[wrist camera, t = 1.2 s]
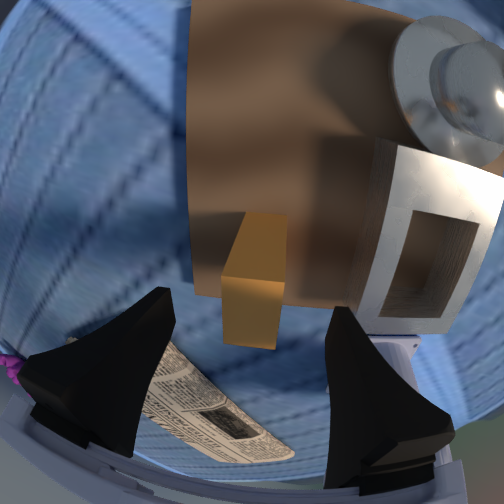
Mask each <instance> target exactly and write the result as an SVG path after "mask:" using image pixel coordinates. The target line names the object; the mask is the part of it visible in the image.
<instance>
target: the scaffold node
mask: <svg viewBox="0 0 504 504" xmlns="http://www.w3.org/2000/svg"><path fill="white" fill-rule="evenodd" d="M388 78H389V85H390V90H391V94H392V98H393V101H394V104H395V107H396V109H397V111H398V113H399V116H400V118H401V120H402V121H403V123H404V125H405V127H406V128H407V130H408V131H409V132H410V134H411V135H412V136H413V138H414V139H415V140H416V141H417V142H418V143H419V144H420V145H421V146H422V147H423V148H421V147H417V146H413V145H409V144H405V143H401V142H397V141H392V140H388V139H383V138H379V137H376V141H375V149H374V156H373V163H372V170H371V176H370V182H369V188H368V193H367V199H366V204H365V209H364V214H363V219H362V224H361V228H360V233H359V237H358V242H357V246H356V250H355V254H354V259H353V263H352V266H351V270H350V274H349V278H348V282H347V285H346V289H345V292H344V296H343V304H344V306H345V307H349V308H350V310H351V311H352V313H353V314H354V316H355V317H356V319H357V320H358V322H359V324H360V325H361V327H362V328H363V330H364V331H365V333H366V334H447V332H448V330H449V329H450V327H451V325H452V323H453V322H454V320H455V318H456V316H457V314H458V312H459V311H460V309H461V307H462V305H463V303H464V301H465V299H466V297H467V295H468V293H469V291H470V289H471V287H472V284H473V282H474V280H475V278H476V276H477V273H478V271H479V269H480V266H481V264H482V261H483V259H484V256H485V254H486V251H487V248H488V246H489V243H490V240H491V237H492V234H493V232H494V228H495V225H496V222H497V219H498V216H499V212H500V209H501V205H502V201H503V197H504V178H502V177H500V176H498V175H496V174H494V173H492V172H490V171H488V170H486V169H484V168H482V166H485V165H487V164H489V163H491V162H492V161H494V160H495V159H496V158H497V157H498V156H499V155H500V154H501V153H502V151H503V150H504V50H503V49H502V48H500V47H499V46H498V45H496V44H494V43H492V42H489V41H486V40H485V39H484V38H483V37H482V36H481V35H479V34H478V33H477V32H476V31H475V30H473V29H472V28H471V27H469V26H467V25H466V24H464V23H462V22H460V21H458V20H455V19H452V18H449V17H444V16H428V17H424V18H421V19H419V20H417V21H415V22H413V23H412V24H410V25H408V26H407V27H406V28H404V29H403V30H402V31H401V32H400V33H399V34H398V36H397V38H396V39H395V41H394V43H393V45H392V48H391V51H390V55H389V63H388ZM413 210H417V211H423V212H428V213H433V214H438V215H443V216H448V221H447V224H446V228H445V231H444V234H443V237H442V240H441V243H440V246H439V249H438V252H437V255H436V258H435V260H434V263H433V266H432V268H431V271H430V274H429V276H428V279H427V281H426V284H425V286H424V288H414V287H399V286H390V285H391V282H392V279H393V276H394V273H395V270H396V267H397V264H398V261H399V258H400V255H401V252H402V248H403V245H404V242H405V238H406V235H407V231H408V228H409V224H410V220H411V216H412V212H413Z"/></svg>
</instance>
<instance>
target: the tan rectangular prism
mask: <svg viewBox="0 0 504 504" xmlns="http://www.w3.org/2000/svg"><path fill="white" fill-rule="evenodd" d="M286 237H287V215H278V214H267V213H255V212H246V214H245V216H244V219H243V221H242V224H241V226H240V229H239V231H238V234H237V236H236V239H235V241H234V244H233V246H232V249H231V252H230V254H229V257H228V259H227V262H226V264H225V267H224V270H223V272H222V275H221V292H222V320H223V343H224V344H231V345H238V346H246V347H255V348H264V349H274V350H275V348H276V341H277V334H278V328H279V321H280V314H281V307H282V300H283V292H284V285H285V266H286Z"/></svg>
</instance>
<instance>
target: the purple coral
mask: <svg viewBox="0 0 504 504" xmlns="http://www.w3.org/2000/svg"><path fill="white" fill-rule="evenodd" d="M24 363H25V361H23V360H22V359H20V358H19V357H17V356H14V355H8V354H0V365H4V366H8V368H7V371H6V373H7V375H8V377H9V378H12V380H13V382H14V383H15V384H20V383H19V381H18V380H17V373H18V372H19V371H20V369H21V368H22V366H23V365H24ZM20 385H21V384H20ZM28 396H30V395H29V394H28ZM30 397H31V396H30Z"/></svg>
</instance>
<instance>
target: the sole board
mask: <svg viewBox="0 0 504 504" xmlns="http://www.w3.org/2000/svg"><path fill="white" fill-rule="evenodd" d="M415 21H417V20H414V19H411V18H409V17H406V16H403V15H400V14H397V13H393V12H390V11H387V10H383V9H380V8H376V7H372V6H368V5H364V4H360V3H355V2H350V1H345V0H192V5H191V16H190V29H189V43H188V62H187V91H186V161H187V192H188V212H189V229H190V244H191V257H192V269H193V280H194V290H195V295H201V296H209V297H216V298H222V292H221V275H222V272H223V270H224V267H225V264H226V262H227V259H228V257H229V254H230V252H231V249H232V246H233V244H234V241H235V239H236V236H237V234H238V231H239V229H240V226H241V224H242V221H243V219H244V216H245V214H246V212H255V213H267V214H278V215H287V237H286V266H285V285H284V292H283V300H282V305H289V306H301V307H313V308H326V309H334V308H335V306H344V304H343V296H344V292H345V289H346V285H347V282H348V278H349V274H350V270H351V266H352V263H353V259H354V254H355V250H356V246H357V242H358V237H359V233H360V228H361V224H362V219H363V214H364V209H365V204H366V199H367V193H368V188H369V182H370V176H371V170H372V163H373V156H374V149H375V141H376V137H379V138H383V139H388V140H392V141H397V142H401V143H405V144H409V145H413V146H417V147H421V148H423V147H422V146H421V145H420V144H419V143H418V142H417V141H416V140H415V139H414V138H413V136H412V135H411V134H410V132H409V131H408V130H407V128H406V127H405V125H404V123H403V121H402V120H401V118H400V116H399V113H398V111H397V109H396V107H395V104H394V101H393V98H392V94H391V90H390V85H389V78H388V63H389V55H390V51H391V48H392V45H393V43H394V41H395V39H396V38H397V36H398V34H399V33H400V32H401V31H402V30H403V29H404V28H406V27H407V26H408V25H410V24H412V23H413V22H415ZM482 168H484V169H486V170H488V171H490V172H492V173H494V174H496V175H498V176H500V177H502V175H503V170H504V150H503V151H502V153H501V154H500V155H499V156H498V157H497V158H496V159H495V160H494V161H492V162H491V163H489V164H487V165H485V166H482ZM447 221H448V216H443V215H438V214H433V213H428V212H423V211H417V210H413V212H412V216H411V220H410V224H409V228H408V231H407V235H406V238H405V242H404V245H403V248H402V252H401V255H400V258H399V261H398V264H397V267H396V270H395V273H394V276H393V279H392V282H391V285H390V286H399V287H414V288H424V286H425V284H426V281H427V279H428V276H429V274H430V271H431V268H432V266H433V263H434V260H435V258H436V255H437V252H438V249H439V246H440V243H441V240H442V237H443V234H444V231H445V228H446V224H447Z"/></svg>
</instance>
